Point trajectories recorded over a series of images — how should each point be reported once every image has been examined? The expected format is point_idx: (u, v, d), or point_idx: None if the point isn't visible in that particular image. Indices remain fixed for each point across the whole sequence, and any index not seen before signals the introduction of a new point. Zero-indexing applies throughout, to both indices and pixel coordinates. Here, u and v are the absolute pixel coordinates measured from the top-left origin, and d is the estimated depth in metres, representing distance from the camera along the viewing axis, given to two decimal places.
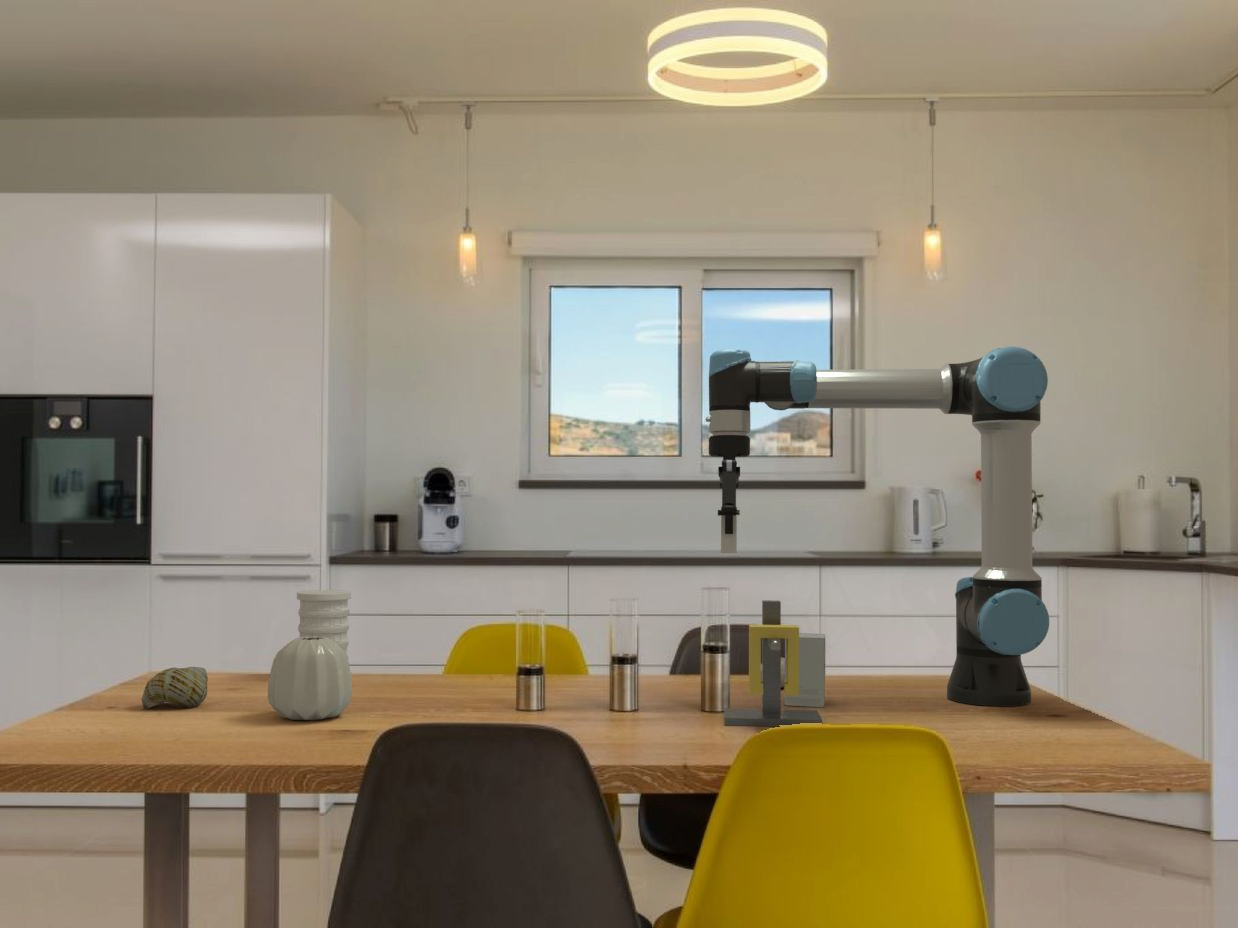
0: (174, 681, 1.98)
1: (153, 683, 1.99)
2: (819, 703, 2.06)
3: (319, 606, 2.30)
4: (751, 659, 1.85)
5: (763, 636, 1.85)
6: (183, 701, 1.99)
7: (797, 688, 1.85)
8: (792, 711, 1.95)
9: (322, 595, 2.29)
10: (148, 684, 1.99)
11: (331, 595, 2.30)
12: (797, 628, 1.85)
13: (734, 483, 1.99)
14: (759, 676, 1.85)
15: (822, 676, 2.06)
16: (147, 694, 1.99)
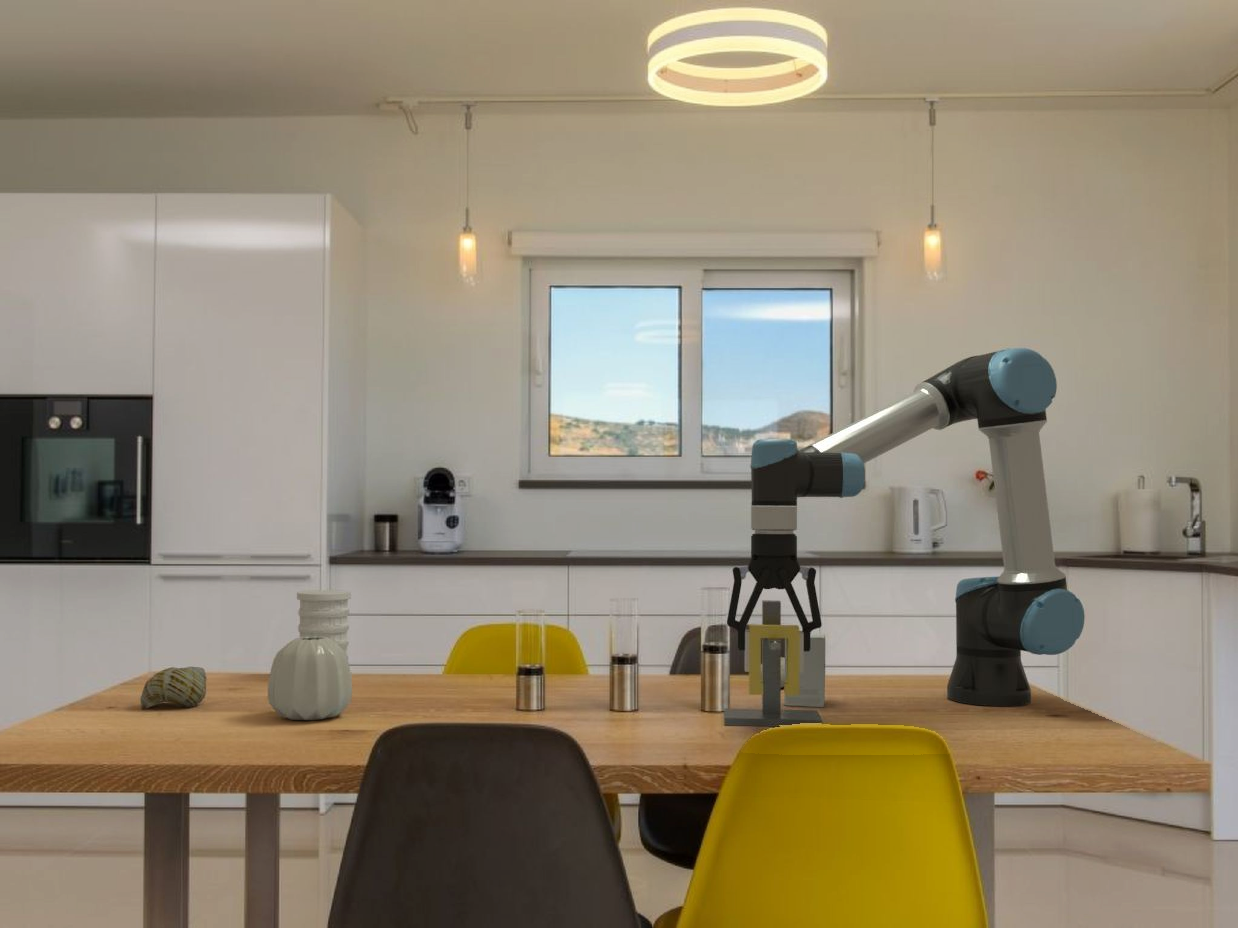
0: (173, 681, 1.98)
1: (152, 683, 1.99)
2: (819, 703, 2.06)
3: (319, 606, 2.30)
4: (751, 659, 1.85)
5: (763, 636, 1.85)
6: (182, 701, 1.99)
7: (797, 688, 1.85)
8: (792, 711, 1.95)
9: (322, 595, 2.29)
10: (147, 684, 1.99)
11: (331, 595, 2.30)
12: (797, 628, 1.85)
13: None
14: (759, 676, 1.85)
15: (822, 676, 2.06)
16: (146, 694, 1.99)
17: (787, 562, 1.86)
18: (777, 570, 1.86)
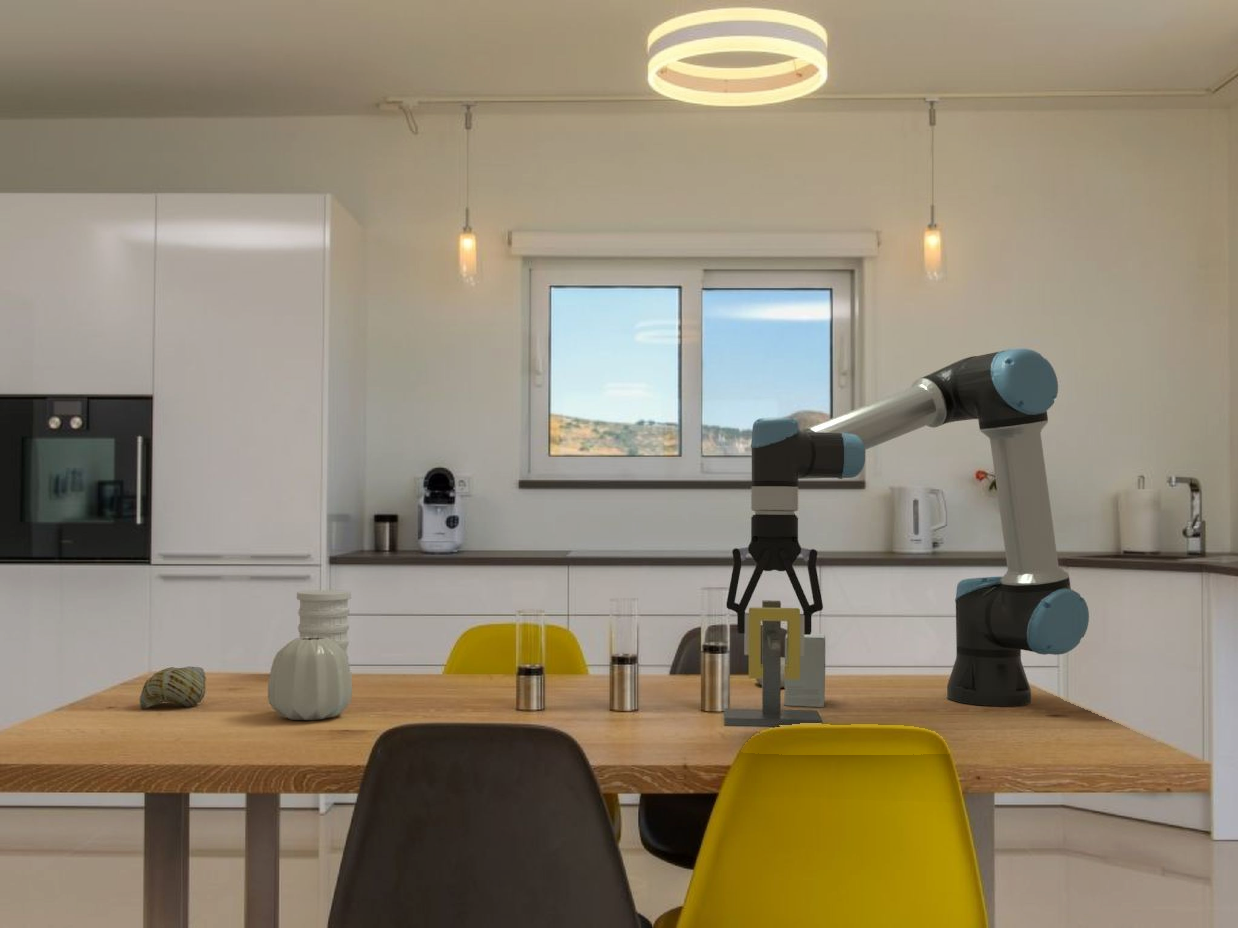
0: (172, 681, 1.98)
1: (151, 683, 1.99)
2: (819, 703, 2.06)
3: (319, 606, 2.30)
4: (751, 642, 1.82)
5: (763, 619, 1.82)
6: (181, 701, 1.99)
7: (798, 672, 1.81)
8: (792, 711, 1.95)
9: (322, 595, 2.29)
10: (146, 684, 1.99)
11: (331, 595, 2.30)
12: (798, 611, 1.81)
13: (731, 576, 1.83)
14: (759, 659, 1.81)
15: (822, 676, 2.06)
16: (145, 694, 1.99)
17: (788, 543, 1.82)
18: (778, 552, 1.82)
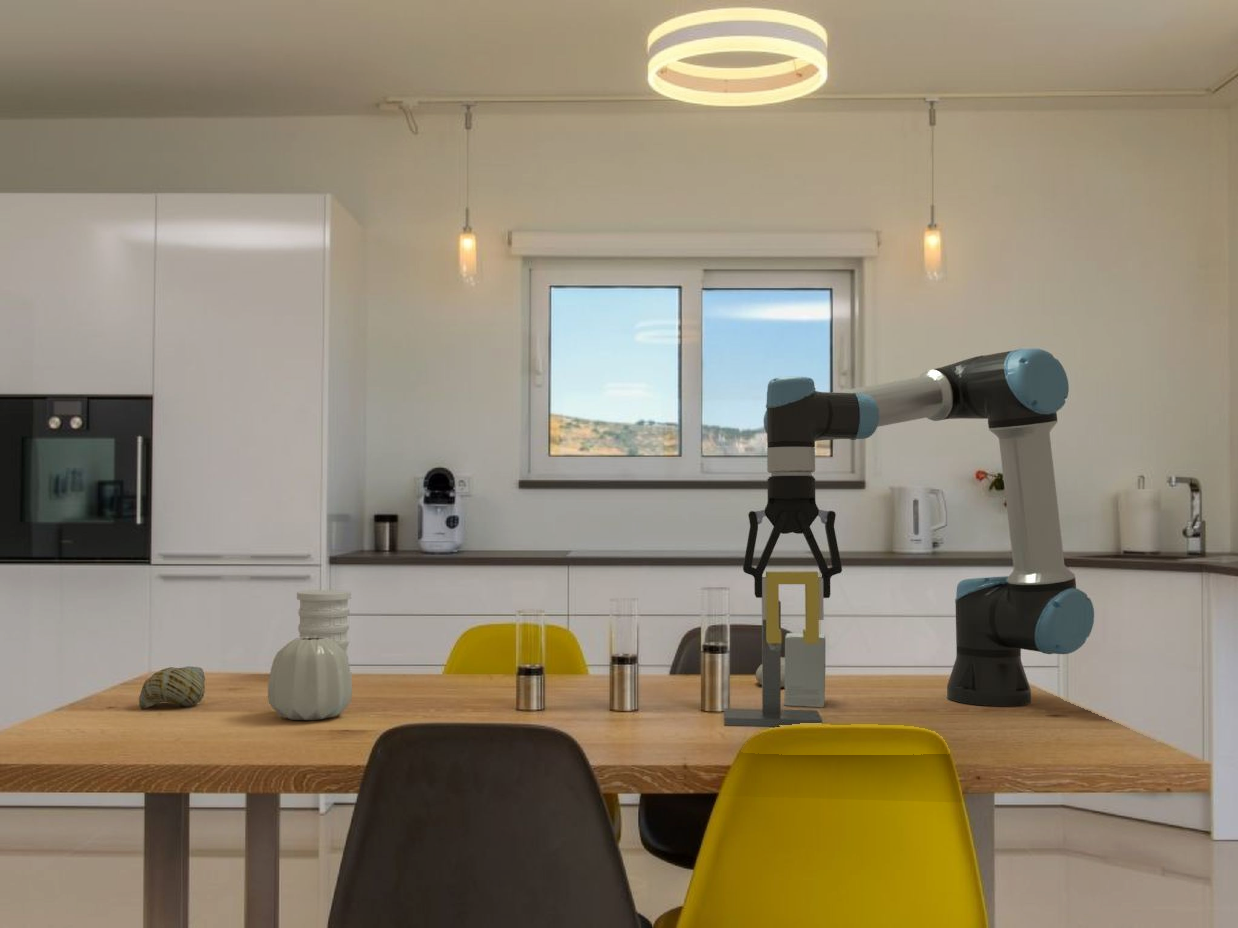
0: (172, 681, 1.98)
1: (151, 683, 1.99)
2: (819, 703, 2.06)
3: (319, 606, 2.30)
4: (769, 606, 1.78)
5: (781, 582, 1.78)
6: (181, 701, 1.99)
7: (817, 636, 1.77)
8: (792, 711, 1.95)
9: (322, 595, 2.29)
10: (145, 684, 2.00)
11: (331, 595, 2.30)
12: (816, 573, 1.77)
13: (748, 540, 1.79)
14: (777, 624, 1.78)
15: (822, 676, 2.06)
16: (145, 694, 1.99)
17: (805, 505, 1.79)
18: (795, 514, 1.79)
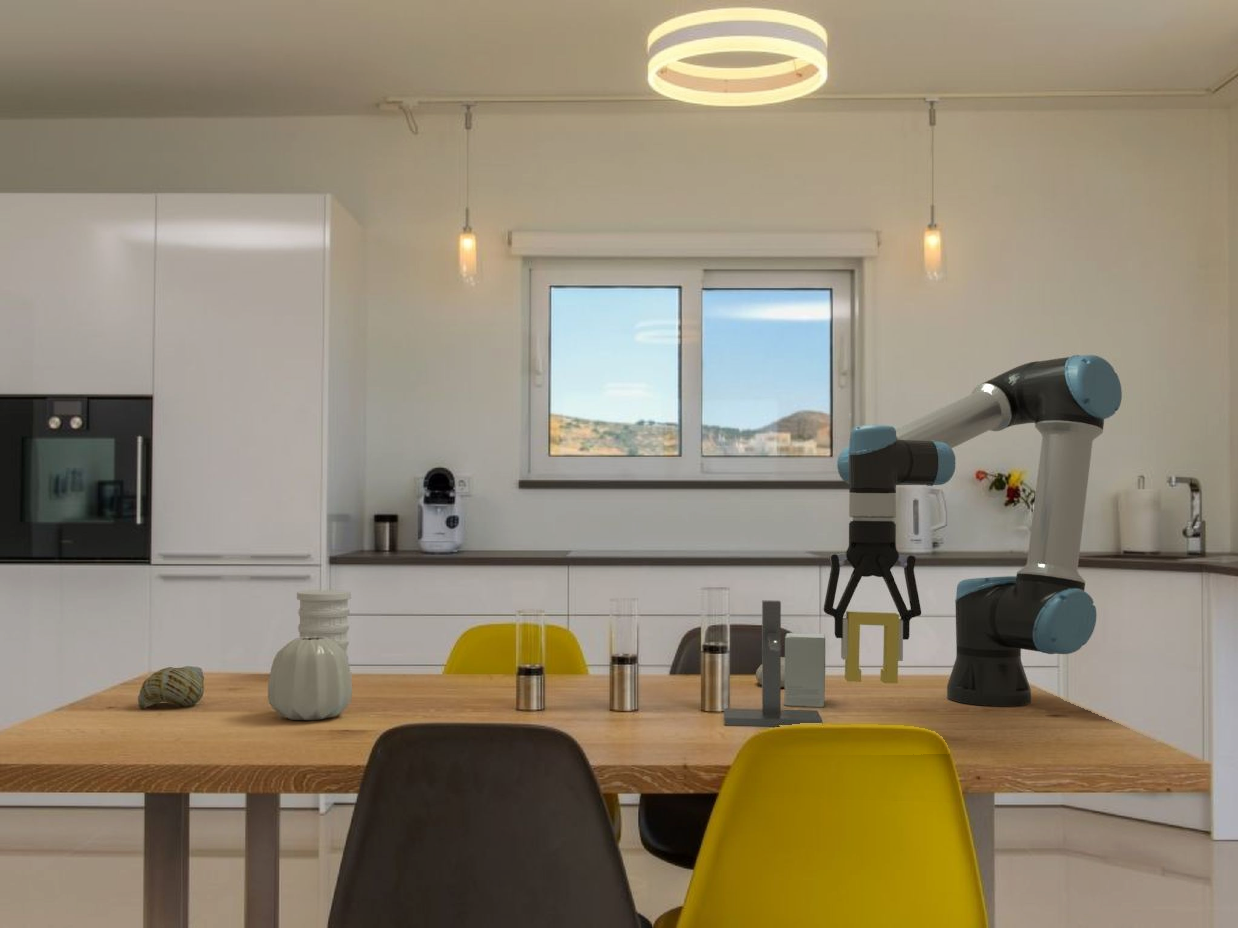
0: (171, 681, 1.98)
1: (150, 683, 1.99)
2: (819, 703, 2.06)
3: (319, 606, 2.30)
4: (850, 646, 1.84)
5: (862, 623, 1.84)
6: (180, 700, 1.99)
7: (896, 676, 1.83)
8: (792, 711, 1.95)
9: (322, 595, 2.29)
10: (145, 684, 2.00)
11: (331, 595, 2.30)
12: (897, 615, 1.84)
13: (829, 582, 1.85)
14: (857, 663, 1.84)
15: (822, 676, 2.06)
16: (144, 694, 1.99)
17: (886, 550, 1.85)
18: (876, 557, 1.85)
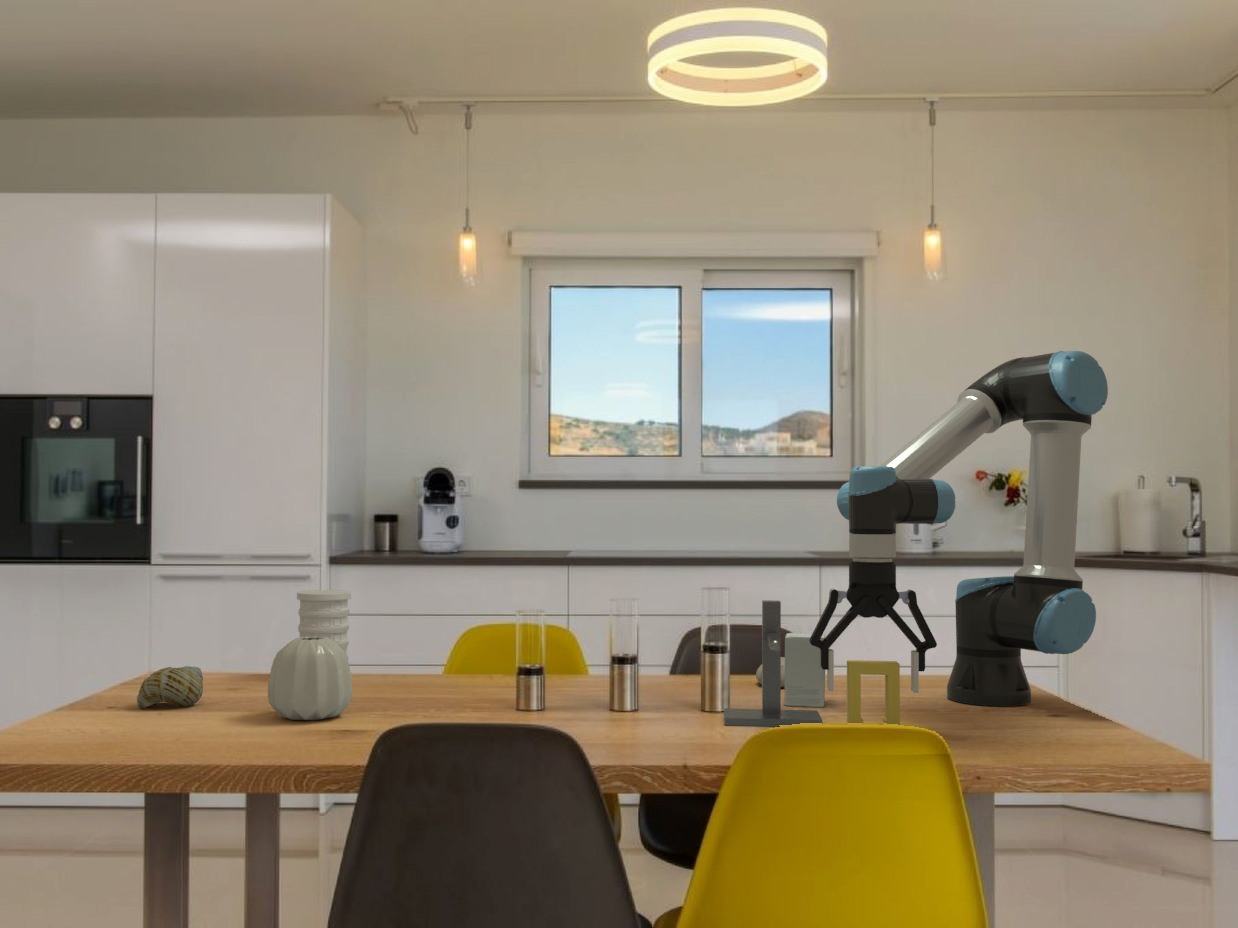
0: (170, 681, 1.99)
1: (149, 683, 1.99)
2: (819, 703, 2.06)
3: (319, 606, 2.30)
4: (851, 696, 1.84)
5: (863, 672, 1.84)
6: (179, 700, 1.99)
7: None
8: (792, 711, 1.95)
9: (322, 595, 2.29)
10: (144, 684, 2.00)
11: (331, 595, 2.30)
12: (897, 664, 1.83)
13: (823, 615, 1.85)
14: (859, 713, 1.84)
15: (822, 676, 2.06)
16: (143, 694, 1.99)
17: (885, 592, 1.85)
18: (876, 600, 1.85)
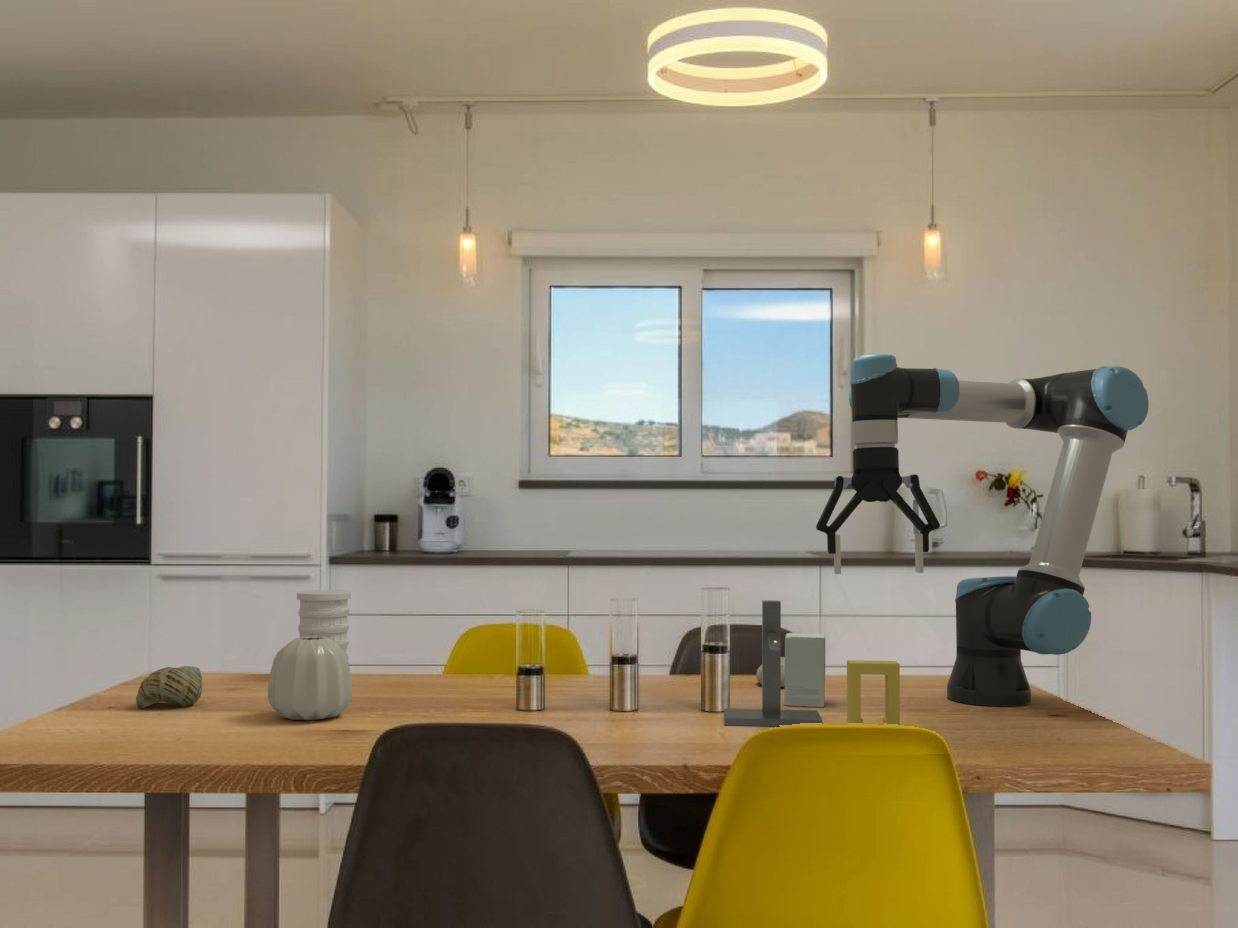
0: (169, 681, 1.99)
1: (148, 683, 1.99)
2: (819, 703, 2.06)
3: (319, 606, 2.30)
4: (851, 696, 1.84)
5: (863, 672, 1.84)
6: (178, 700, 1.99)
7: None
8: (792, 711, 1.95)
9: (322, 595, 2.29)
10: (143, 684, 2.00)
11: (331, 595, 2.30)
12: (897, 665, 1.83)
13: (829, 501, 1.91)
14: (859, 713, 1.84)
15: (822, 676, 2.06)
16: (142, 694, 1.99)
17: (889, 477, 1.90)
18: (880, 484, 1.90)
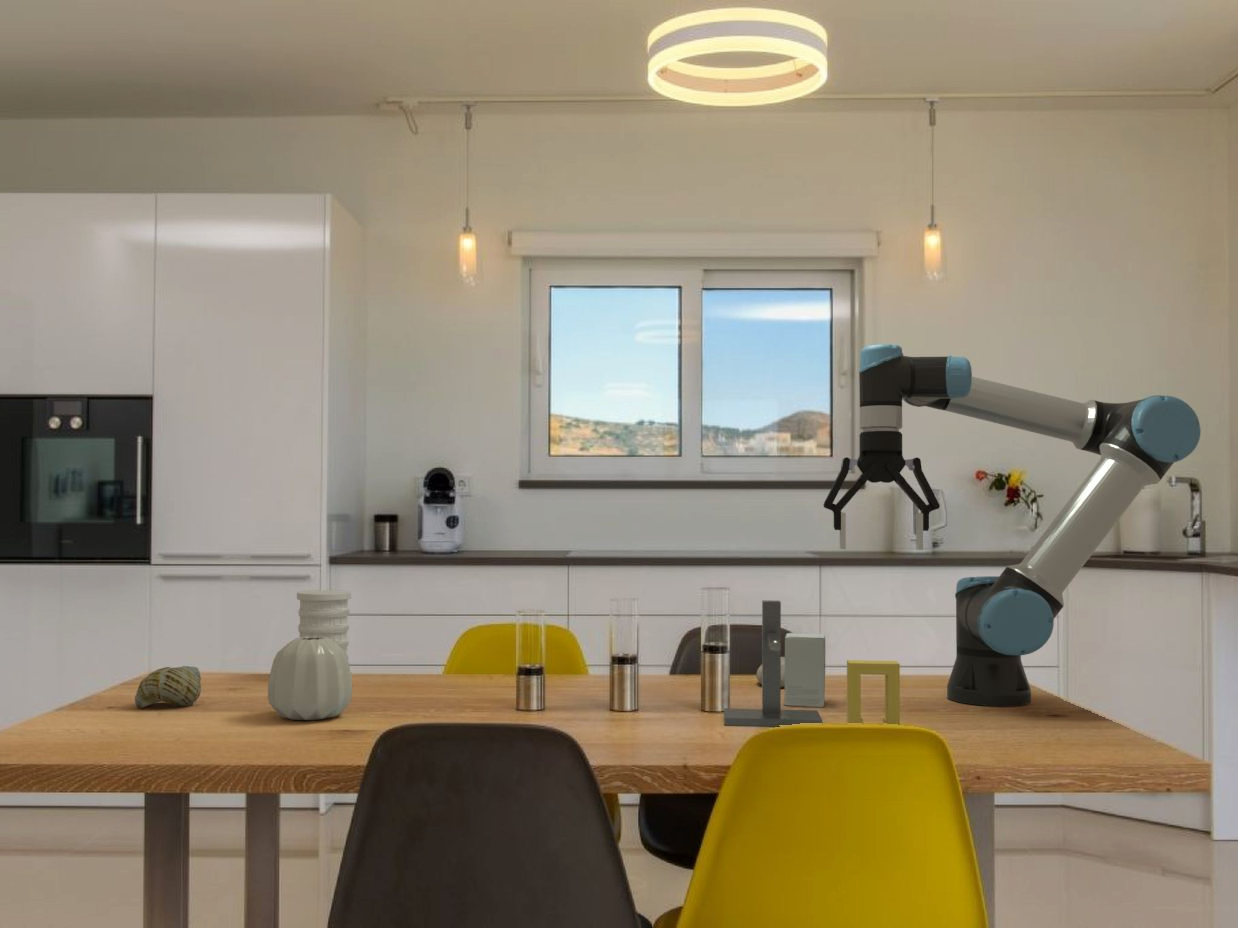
0: (169, 680, 1.99)
1: (147, 682, 1.99)
2: (819, 703, 2.06)
3: (319, 606, 2.30)
4: (851, 696, 1.84)
5: (863, 672, 1.84)
6: (177, 700, 1.99)
7: None
8: (792, 711, 1.95)
9: (322, 595, 2.29)
10: (142, 684, 2.00)
11: (331, 595, 2.30)
12: (897, 665, 1.83)
13: (836, 480, 2.04)
14: (859, 713, 1.84)
15: (822, 676, 2.06)
16: (141, 694, 1.99)
17: (892, 459, 2.03)
18: (884, 466, 2.03)
